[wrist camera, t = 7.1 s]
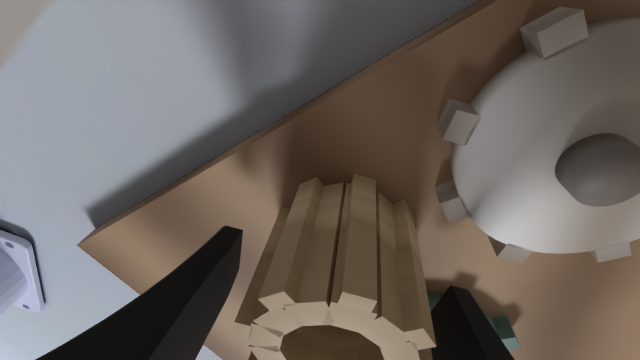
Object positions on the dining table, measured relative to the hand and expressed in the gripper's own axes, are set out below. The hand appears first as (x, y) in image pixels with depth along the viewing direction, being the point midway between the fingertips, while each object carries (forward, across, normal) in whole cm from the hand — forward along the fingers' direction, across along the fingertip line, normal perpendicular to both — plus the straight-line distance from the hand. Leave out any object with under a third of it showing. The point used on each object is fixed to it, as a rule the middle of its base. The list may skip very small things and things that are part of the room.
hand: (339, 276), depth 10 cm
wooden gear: (+2, 0, 0) cm, 2 cm away
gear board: (+3, -3, +3) cm, 5 cm away
